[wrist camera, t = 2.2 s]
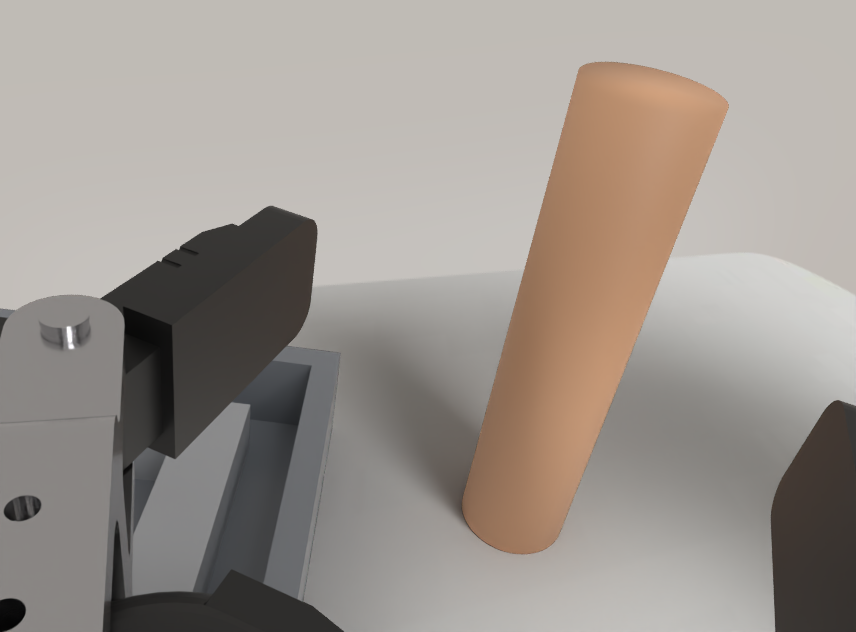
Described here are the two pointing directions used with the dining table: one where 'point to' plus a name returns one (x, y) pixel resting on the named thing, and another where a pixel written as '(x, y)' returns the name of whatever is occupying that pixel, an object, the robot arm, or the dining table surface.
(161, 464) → the box
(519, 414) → the peg
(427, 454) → the dining table surface
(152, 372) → the robot arm
